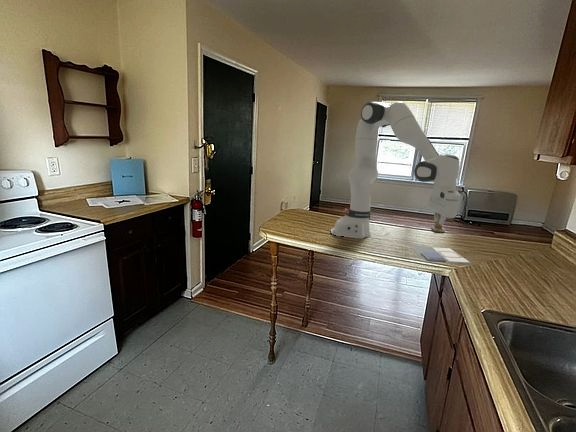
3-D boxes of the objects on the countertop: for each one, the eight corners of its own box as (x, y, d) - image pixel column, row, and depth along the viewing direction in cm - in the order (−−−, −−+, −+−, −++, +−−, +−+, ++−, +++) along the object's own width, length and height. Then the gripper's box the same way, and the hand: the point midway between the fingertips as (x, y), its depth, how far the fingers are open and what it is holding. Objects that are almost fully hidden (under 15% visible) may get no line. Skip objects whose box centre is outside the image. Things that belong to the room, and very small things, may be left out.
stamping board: (426, 263, 138) (426, 258, 137) (409, 248, 157) (410, 243, 157) (471, 266, 138) (472, 260, 137) (449, 250, 157) (450, 245, 157)
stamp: (434, 233, 137) (437, 215, 136) (430, 230, 142) (433, 213, 140) (444, 233, 137) (447, 216, 136) (440, 231, 142) (442, 213, 140)
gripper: (426, 188, 145) (422, 217, 149) (447, 195, 126) (442, 229, 129) (440, 189, 145) (435, 217, 149) (463, 196, 126) (457, 229, 129)
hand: (438, 223), depth 139 cm, fingers closed on stamp, 3 cm apart
